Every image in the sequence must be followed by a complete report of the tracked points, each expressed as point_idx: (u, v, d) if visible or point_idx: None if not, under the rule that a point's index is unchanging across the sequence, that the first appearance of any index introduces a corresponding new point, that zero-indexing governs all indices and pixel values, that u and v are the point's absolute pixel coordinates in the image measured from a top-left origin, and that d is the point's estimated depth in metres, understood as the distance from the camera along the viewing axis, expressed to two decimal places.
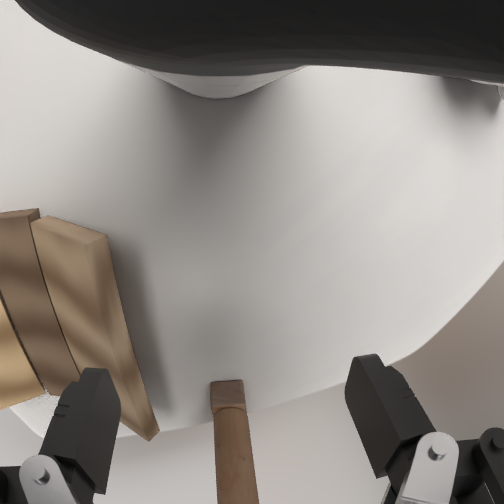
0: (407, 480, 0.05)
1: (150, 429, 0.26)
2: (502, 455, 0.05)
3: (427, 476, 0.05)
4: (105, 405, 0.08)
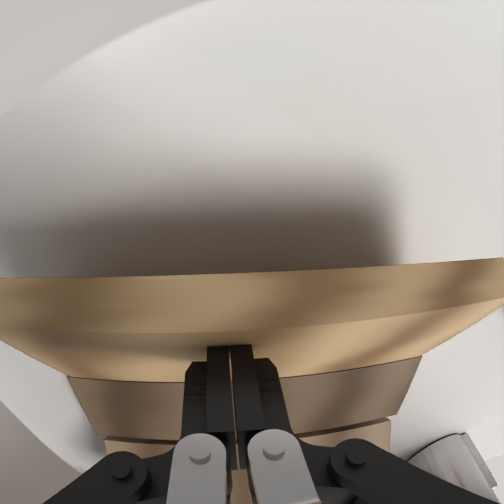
0: (257, 492, 0.05)
1: None
2: (369, 467, 0.06)
3: (276, 480, 0.06)
4: None
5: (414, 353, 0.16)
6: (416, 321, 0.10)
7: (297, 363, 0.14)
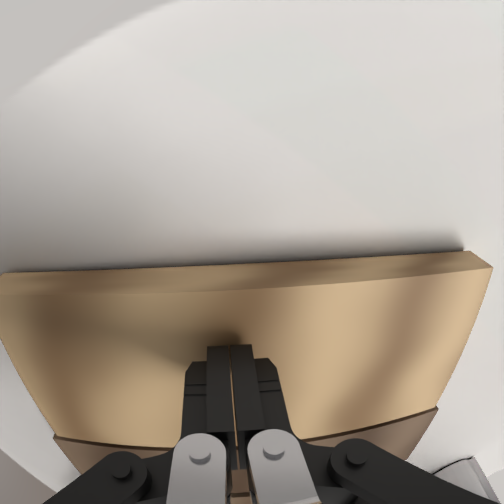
0: (257, 492, 0.05)
1: None
2: (369, 467, 0.06)
3: (276, 480, 0.06)
4: None
5: (426, 396, 0.14)
6: (397, 300, 0.11)
7: (296, 397, 0.12)
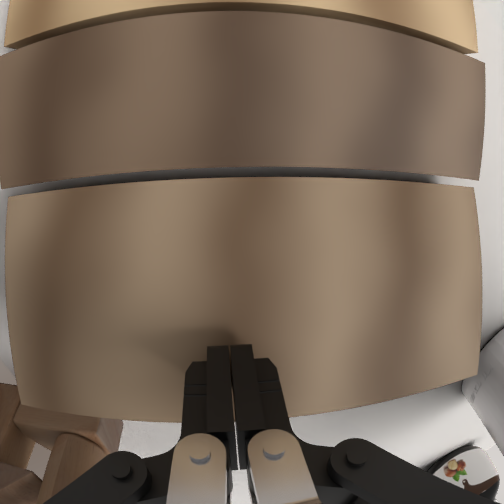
0: (257, 492, 0.05)
1: None
2: (369, 468, 0.06)
3: (276, 480, 0.06)
4: None
5: (457, 18, 0.09)
6: None
7: None
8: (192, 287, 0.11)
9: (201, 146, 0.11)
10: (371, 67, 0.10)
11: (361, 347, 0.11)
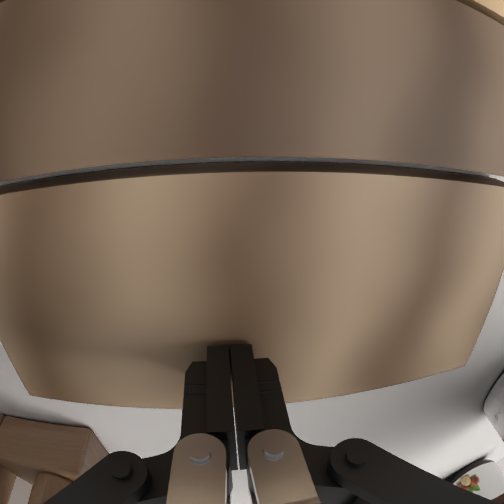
0: (257, 492, 0.05)
1: None
2: (369, 468, 0.06)
3: (276, 480, 0.06)
4: None
5: None
6: None
7: None
8: (186, 303, 0.10)
9: (189, 127, 0.08)
10: (417, 32, 0.07)
11: (362, 350, 0.11)
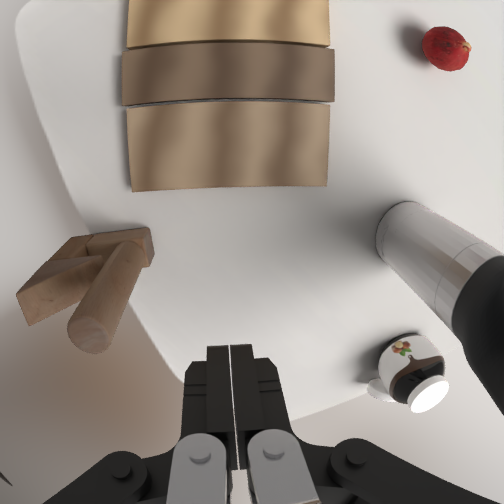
0: (257, 492, 0.05)
1: None
2: (369, 467, 0.06)
3: (276, 479, 0.06)
4: None
5: (318, 32, 0.27)
6: None
7: (247, 9, 0.26)
8: (206, 139, 0.31)
9: (210, 90, 0.29)
10: (273, 59, 0.28)
11: (266, 162, 0.33)
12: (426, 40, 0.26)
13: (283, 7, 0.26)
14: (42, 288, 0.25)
